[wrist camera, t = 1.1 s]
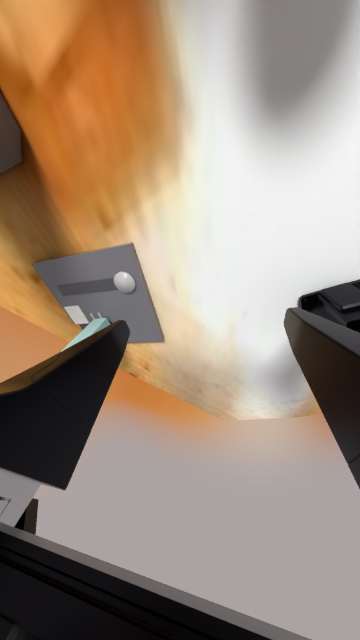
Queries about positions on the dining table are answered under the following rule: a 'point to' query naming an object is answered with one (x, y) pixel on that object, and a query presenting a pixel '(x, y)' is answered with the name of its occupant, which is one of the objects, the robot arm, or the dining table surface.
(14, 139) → the liquor
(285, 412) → the dining table surface
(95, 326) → the fader tab
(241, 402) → the dining table surface
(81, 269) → the console panel
